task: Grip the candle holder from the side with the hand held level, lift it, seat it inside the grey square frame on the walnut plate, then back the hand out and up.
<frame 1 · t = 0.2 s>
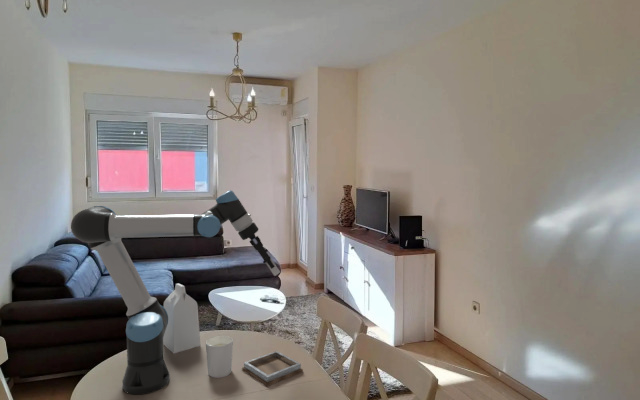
hand: (275, 270, 168), 34 cm above the table, tool tilted 35°, fingers open, 13 cm apart
grey square frame: (272, 365, 156), on the walnut plate, point 1 cm above the table
milk: (181, 345, 180), on the table
candle holder: (219, 372, 155), on the table
walnut plate: (272, 370, 156), on the table
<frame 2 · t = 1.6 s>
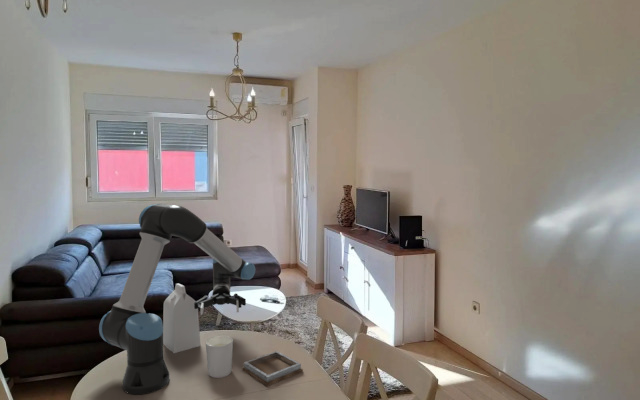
hand: (219, 310, 163), 20 cm above the table, tool horizontal, fingers open, 13 cm apart
nothing on the table moved.
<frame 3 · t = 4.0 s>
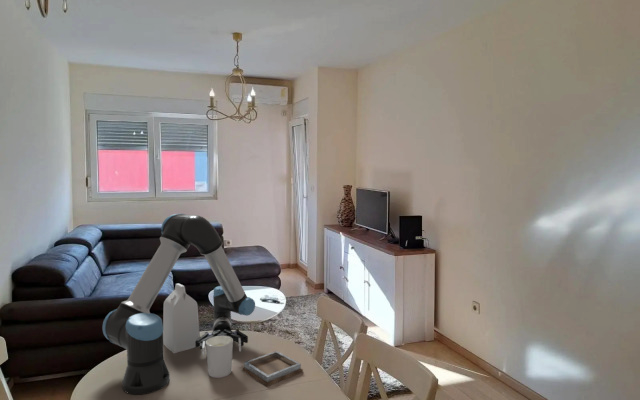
hand: (221, 349, 160), 6 cm above the table, tool horizontal, fingers open, 13 cm apart
nothing on the table moved.
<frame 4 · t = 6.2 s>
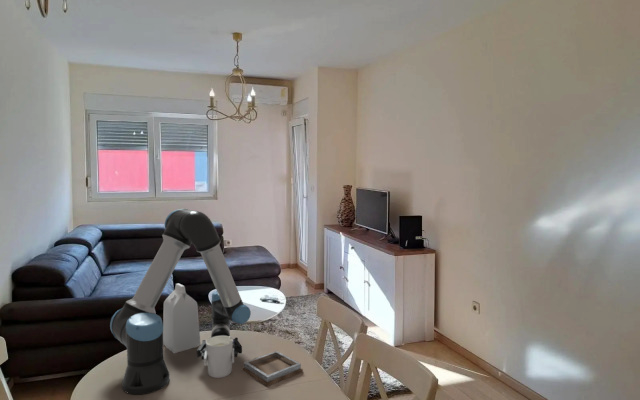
hand: (219, 360, 150), 7 cm above the table, tool horizontal, fingers closed on candle holder, 9 cm apart
candle holder: (220, 372, 155), on the table, touching gripper
everything else where it was.
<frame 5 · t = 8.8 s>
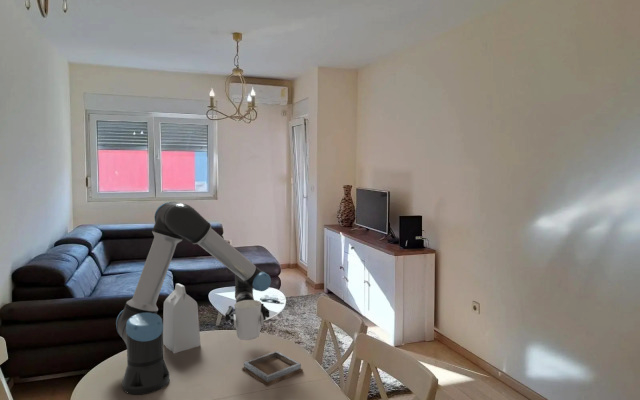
hand: (248, 322, 151), 20 cm above the table, tool horizontal, fingers closed on candle holder, 9 cm apart
candle holder: (248, 336, 156), point 13 cm above the table, touching gripper
everything else where it was.
when the fingers open (9 cm above the table, at t = 11.8 s): candle holder drops 1 cm, resting on walnut plate.
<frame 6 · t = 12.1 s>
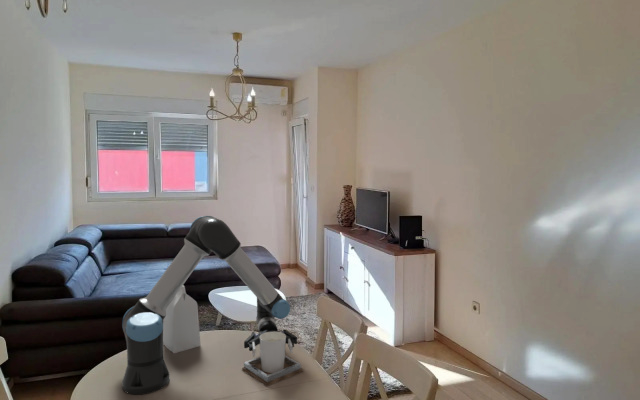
hand: (273, 351, 152), 9 cm above the table, tool horizontal, fingers open, 13 cm apart
candle holder: (272, 368, 156), point 1 cm above the table, touching walnut plate
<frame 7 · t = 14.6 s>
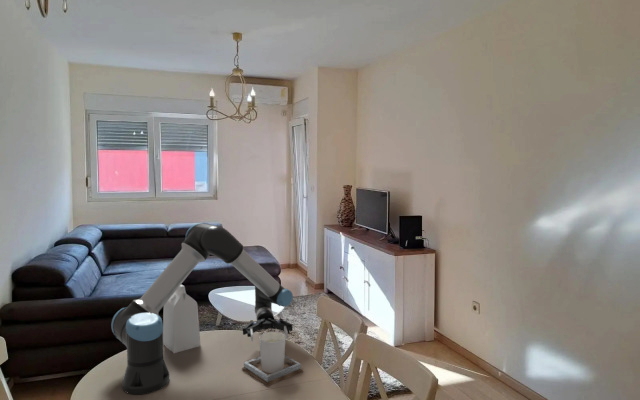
hand: (269, 336, 165), 9 cm above the table, tool horizontal, fingers open, 13 cm apart
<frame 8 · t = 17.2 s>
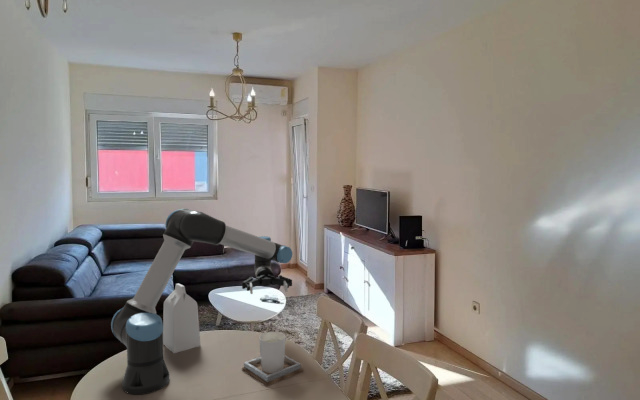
hand: (269, 289, 164), 28 cm above the table, tool horizontal, fingers open, 13 cm apart
at the end: candle holder 0.1 cm off-centre on the grey square frame, point 0.8 cm above the grey square frame's base; candle holder tilted 0°; the gripper is holding nothing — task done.
